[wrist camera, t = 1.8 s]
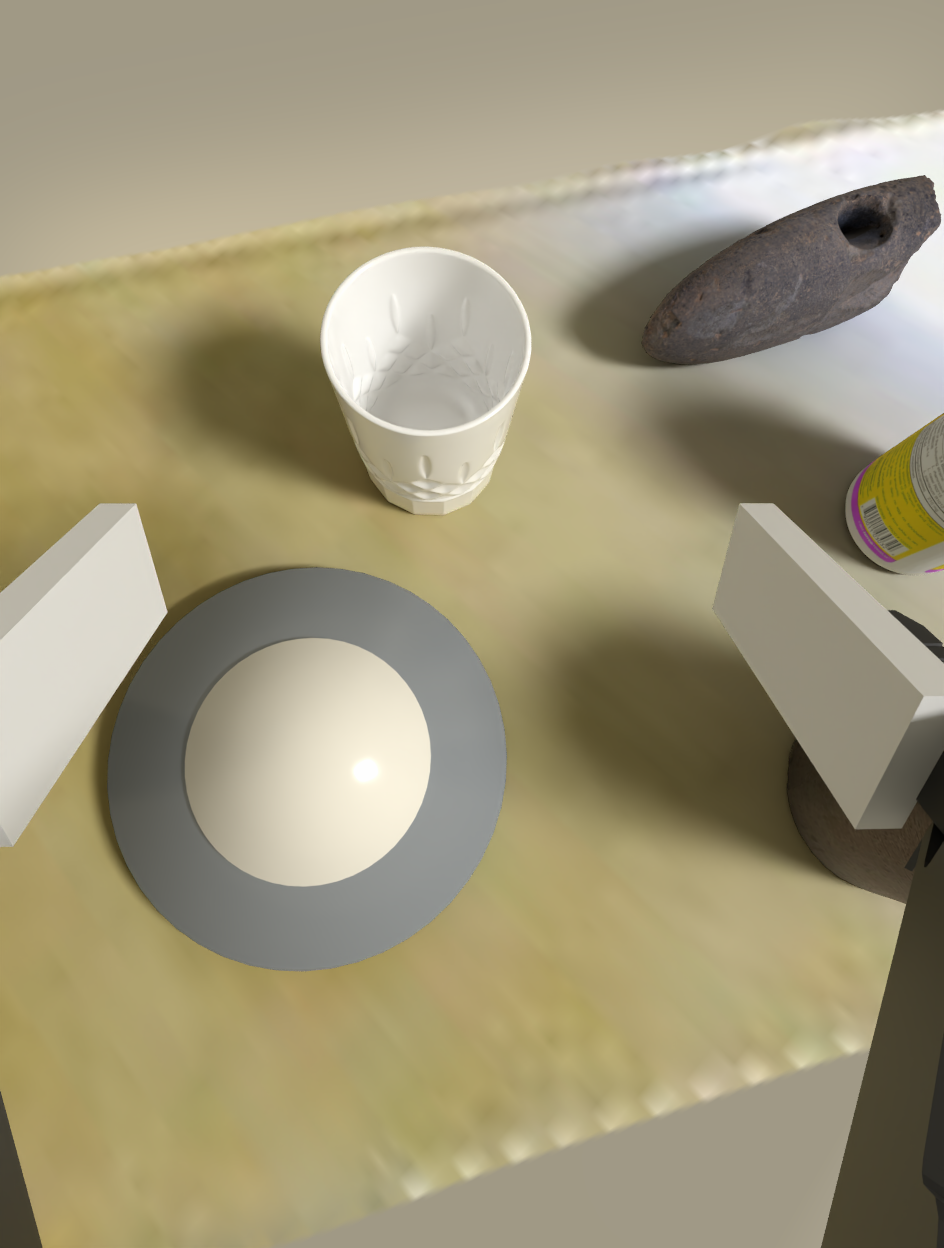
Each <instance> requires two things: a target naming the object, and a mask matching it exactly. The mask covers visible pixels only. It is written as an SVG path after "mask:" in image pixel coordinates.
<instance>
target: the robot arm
mask: <svg viewBox="0 0 944 1248" xmlns="http://www.w3.org/2000/svg"><path fill="white" fill-rule="evenodd" d="M712 609H713V611H714V612H715V614H716V615H717V617H718V618H719V620H720V621H721V623H722V625H723V626H724V628H725V629H726V631H727V632H728V634H729V635H730V637H731V638H732V640H733V642H734V643H735V645H736V646H737V648H738V649H739V651H740V652H741V654H742V655H743V657H744V659H745V660H746V662H747V663H748V665H749V666H750V668H751V669H752V671H753V672H754V674H755V676H756V677H757V679H758V680H759V682H760V683H761V685H762V686H763V688H764V689H765V691H766V693H767V694H768V696H769V697H770V699H771V700H772V702H773V703H774V705H775V706H776V708H777V710H778V711H779V713H780V714H781V716H782V717H783V719H784V720H785V722H786V723H787V725H788V727H789V728H790V730H791V731H792V733H793V734H794V736H795V737H796V739H797V740H798V742H799V744H800V745H801V747H802V748H803V750H804V751H805V753H806V754H807V756H808V757H809V759H810V761H811V762H812V764H813V765H814V767H815V768H816V770H817V771H818V773H819V774H820V776H821V778H822V779H823V781H824V782H825V784H826V785H827V787H828V788H829V790H830V791H831V793H832V795H833V796H834V798H835V799H836V801H837V802H838V804H839V805H840V807H841V808H842V810H843V812H844V813H845V815H846V816H847V818H848V819H849V821H850V822H851V824H852V825H853V827H854V829H901V828H902V827H903V825H904V824H905V822H906V820H907V818H908V817H909V815H910V813H911V811H912V810H913V808H914V806H915V805H916V803H917V802H918V803H919V804H920V805H921V807H922V808H923V809H924V811H925V812H926V813H927V814H928V816H929V817H930V818H931V820H932V823H931V825H930V826H929V828H928V829H927V831H926V833H925V834H924V836H923V838H922V839H921V841H920V843H919V844H918V846H917V848H916V849H915V851H914V852H913V854H912V856H911V857H910V859H909V861H908V862H907V864H906V866H905V867H904V868H906V869H908V870H910V871H913V870H914V869H915V871H914V875H913V879H912V883H911V887H910V891H909V895H908V899H907V903H906V907H905V911H904V915H903V919H902V923H901V927H900V931H899V936H898V940H897V944H896V948H895V952H894V956H893V960H892V964H891V968H890V972H889V976H888V980H887V984H886V988H885V992H884V996H883V1000H882V1004H881V1008H880V1012H879V1016H878V1020H877V1024H876V1028H875V1032H874V1036H873V1040H872V1044H871V1048H870V1052H869V1057H868V1061H867V1064H866V1068H865V1073H864V1077H863V1081H862V1085H861V1089H860V1093H859V1097H858V1101H857V1105H856V1109H855V1113H854V1117H853V1121H852V1125H851V1129H850V1133H849V1137H848V1141H847V1145H846V1149H845V1153H844V1157H843V1161H842V1165H841V1169H840V1173H839V1177H838V1181H837V1186H836V1190H835V1193H834V1198H833V1201H832V1205H831V1209H830V1214H829V1218H828V1222H827V1226H826V1230H825V1234H824V1238H823V1242H822V1246H821V1248H944V647H943V646H942V644H943V643H942V642H941V641H939V640H938V639H937V638H936V637H935V636H934V635H933V634H932V633H931V632H929V631H928V630H927V629H926V628H925V627H924V626H923V625H921V624H919V623H917V622H915V621H914V620H912V619H910V618H908V617H906V616H904V615H903V614H901V613H899V612H897V611H895V610H886V609H885V608H884V607H883V606H882V605H881V604H880V603H879V602H878V601H877V600H876V599H875V598H874V597H873V596H871V595H870V594H869V593H868V592H867V591H866V590H865V589H864V588H863V587H862V586H861V585H860V584H859V583H858V582H857V581H856V580H854V579H853V578H852V577H851V576H850V575H849V574H848V573H847V572H846V571H845V570H844V569H843V568H842V567H841V566H840V565H838V564H837V563H836V562H835V561H834V560H833V559H832V558H831V557H830V556H829V555H828V554H827V553H826V552H825V551H824V550H823V549H821V548H820V547H819V546H818V545H817V544H816V543H815V542H814V541H813V540H812V539H811V538H810V537H809V536H808V535H807V534H805V533H804V532H803V531H802V530H801V529H800V528H799V527H798V526H797V525H796V524H795V523H794V522H793V521H792V520H791V519H789V518H788V517H787V516H786V515H785V514H784V513H783V512H782V511H781V510H780V509H779V508H778V507H777V506H776V505H775V504H774V503H739V507H738V511H737V515H736V519H735V522H734V526H733V530H732V534H731V538H730V542H729V546H728V550H727V553H726V557H725V561H724V565H723V569H722V573H721V577H720V580H719V584H718V588H717V592H716V596H715V600H714V604H713V608H712ZM166 614H167V609H166V605H165V602H164V599H163V595H162V592H161V588H160V585H159V581H158V578H157V574H156V571H155V567H154V564H153V560H152V557H151V553H150V550H149V547H148V543H147V540H146V536H145V533H144V529H143V526H142V522H141V519H140V515H139V512H138V508H137V505H136V504H99V505H97V506H96V507H95V508H94V509H93V510H92V511H91V512H90V513H89V514H87V515H86V516H85V517H84V518H83V519H82V520H81V521H80V522H79V523H77V524H76V525H75V526H74V527H73V528H72V529H71V530H70V531H69V532H67V533H66V534H65V535H64V536H63V537H62V538H61V539H60V540H59V541H57V542H56V543H55V544H54V545H53V546H52V547H51V548H50V549H49V550H47V551H46V552H45V553H44V554H43V555H42V556H41V557H40V558H39V559H37V560H36V561H35V562H34V563H33V564H32V565H31V566H30V567H29V568H27V569H26V570H25V571H24V572H23V573H22V574H21V575H20V576H19V577H17V578H16V579H15V580H14V581H13V582H12V583H11V584H10V585H9V586H7V587H6V588H5V589H4V590H3V591H2V592H1V593H0V847H12V846H14V844H15V843H16V841H17V840H18V838H19V837H20V835H21V834H22V832H23V831H24V829H25V828H26V826H27V825H28V823H29V822H30V820H31V819H32V817H33V815H34V814H35V812H36V811H37V809H38V808H39V806H40V805H41V803H42V802H43V800H44V799H45V797H46V796H47V794H48V793H49V791H50V790H51V788H52V787H53V785H54V784H55V782H56V781H57V779H58V778H59V776H60V775H61V773H62V772H63V770H64V768H65V767H66V765H67V764H68V762H69V761H70V759H71V758H72V756H73V755H74V753H75V752H76V750H77V749H78V747H79V746H80V744H81V743H82V741H83V740H84V738H85V737H86V735H87V734H88V732H89V731H90V729H91V728H92V726H93V725H94V723H95V721H96V720H97V718H98V717H99V715H100V714H101V712H102V711H103V709H104V708H105V706H106V705H107V703H108V702H109V700H110V699H111V697H112V696H113V694H114V693H115V691H116V690H117V688H118V687H119V685H120V684H121V682H122V681H123V679H124V678H125V676H126V674H127V673H128V671H129V670H130V668H131V667H132V665H133V664H134V662H135V661H136V659H137V658H138V656H139V655H140V653H141V652H142V650H143V649H144V647H145V646H146V644H147V643H148V641H149V640H150V638H151V637H152V635H153V634H154V632H155V631H156V629H157V628H158V626H159V624H160V623H161V621H162V620H163V618H164V617H165V615H166ZM0 1248H42V1244H41V1240H40V1237H39V1233H38V1229H37V1225H36V1222H35V1218H34V1214H33V1211H32V1207H31V1203H30V1199H29V1196H28V1192H27V1188H26V1185H25V1181H24V1177H23V1173H22V1170H21V1166H20V1162H19V1159H18V1155H17V1151H16V1147H15V1144H14V1140H13V1136H12V1133H11V1129H10V1125H9V1121H8V1118H7V1114H6V1110H5V1107H4V1103H3V1099H2V1095H1V1092H0Z"/></svg>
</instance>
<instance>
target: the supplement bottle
mask: <svg viewBox="0 0 944 1248" xmlns="http://www.w3.org/2000/svg"><path fill="white" fill-rule="evenodd" d="M845 513H846V521H847V525H848V528H849V531H850V533H851V536H852V538H853V539H854V541H855V543H856V544H857V546H858V547H859V548H860V549H861V551H862V552H863V553H864V554H865V555H866V556H867V557H869V558H870V559H871V560H872V561H874V562H875V563H876V564H878V565H880V566H882V567H884V568H886V569H888V570H890V571H893V572H896V573H900V574H905V575H926V574H931V573H935V572H938V571H941V570H944V413H943V414H942V415H940V416H939V417H937V418H936V419H934V420H933V421H931V422H930V423H928V424H927V425H925V426H924V427H923V428H921V429H920V430H918V431H917V432H915V433H914V434H912V435H911V436H909V437H908V438H906V439H905V440H903V441H902V442H901V443H899V444H898V445H896V446H895V447H893V448H892V449H890V450H889V451H887V452H886V453H884V454H883V455H882V456H880V457H879V458H877V459H876V460H875V461H873V462H872V463H870V464H869V465H868V466H866V467H865V468H864V469H863V470H862V471H860V473H859V474H858V475H857V476H856V477H855V479H854V480H853V482H852V484H851V486H850V488H849V490H848V493H847V497H846V506H845Z"/></svg>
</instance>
